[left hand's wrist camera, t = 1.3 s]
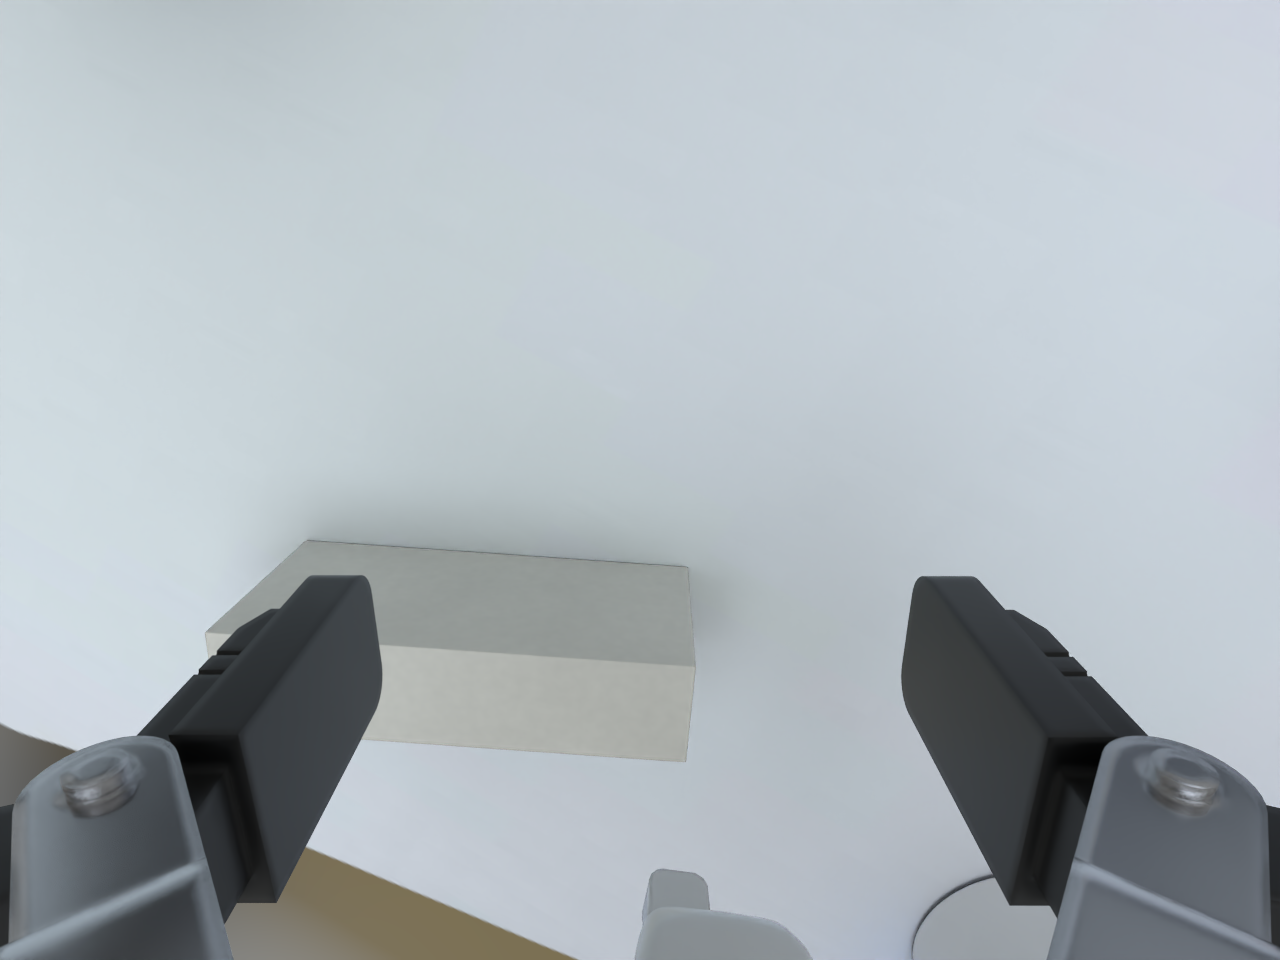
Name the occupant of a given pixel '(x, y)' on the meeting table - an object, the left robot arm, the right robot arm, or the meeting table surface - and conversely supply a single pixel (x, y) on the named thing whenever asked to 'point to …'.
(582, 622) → the box
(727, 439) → the meeting table surface
